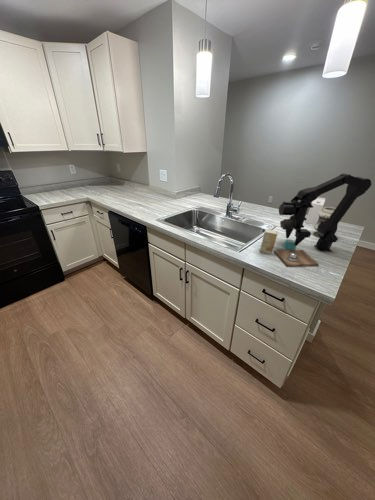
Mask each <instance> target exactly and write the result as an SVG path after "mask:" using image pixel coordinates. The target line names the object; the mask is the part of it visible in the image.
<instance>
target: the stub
mask: <svg viewBox="0 0 375 500" xmlns="http://www.w3.org/2000/svg"><path fill="white" fill-rule="evenodd" d="M296 256H297V254H296V253H293V252H291V253H290V255H288V256H287V257H286V258H287V260H289V261H292V262H296V261H298V258H297V257H296Z"/></svg>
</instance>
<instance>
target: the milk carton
mask: <svg viewBox="0 0 375 500" xmlns="http://www.w3.org/2000/svg"><path fill="white" fill-rule="evenodd" d="M325 202H326V197H321V196H318V197H317V199H316V200H314V201H312V202H311V205H312V206H313V208H309V210H308V214H307V215H306V216H307V217H306V218H307V219H306V220H305V221H304V223H305V224H307V225H308V224H309V225H313V226H314V224H315V223H317V222H318V219H319V215H318V213H319V211H321V210H322V209H323V208H324V205H325Z"/></svg>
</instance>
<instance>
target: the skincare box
mask: <svg viewBox="0 0 375 500" xmlns="http://www.w3.org/2000/svg"><path fill="white" fill-rule="evenodd" d="M263 233H264V234H263V237H262V241H261V245H260V247H259V248H260V249H259V252H260V253H264V254H269V255H272V254H273V252H274V247H275V243H276V240H277V237H278V233H279V232H278V230H274V229H266V228H265V229H264V232H263Z"/></svg>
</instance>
